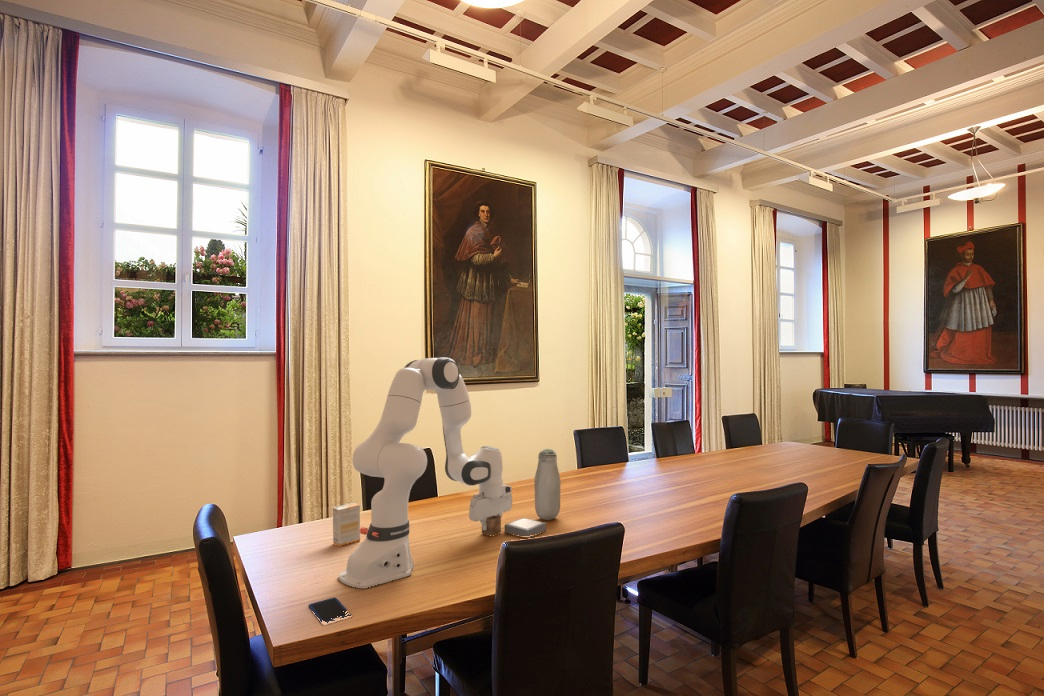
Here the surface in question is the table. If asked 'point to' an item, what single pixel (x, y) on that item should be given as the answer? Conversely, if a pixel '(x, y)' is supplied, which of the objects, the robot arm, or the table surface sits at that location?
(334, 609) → the cell phone
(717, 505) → the table surface
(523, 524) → the base block
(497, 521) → the walnut block
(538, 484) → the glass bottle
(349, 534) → the supplement box
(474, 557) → the table surface
